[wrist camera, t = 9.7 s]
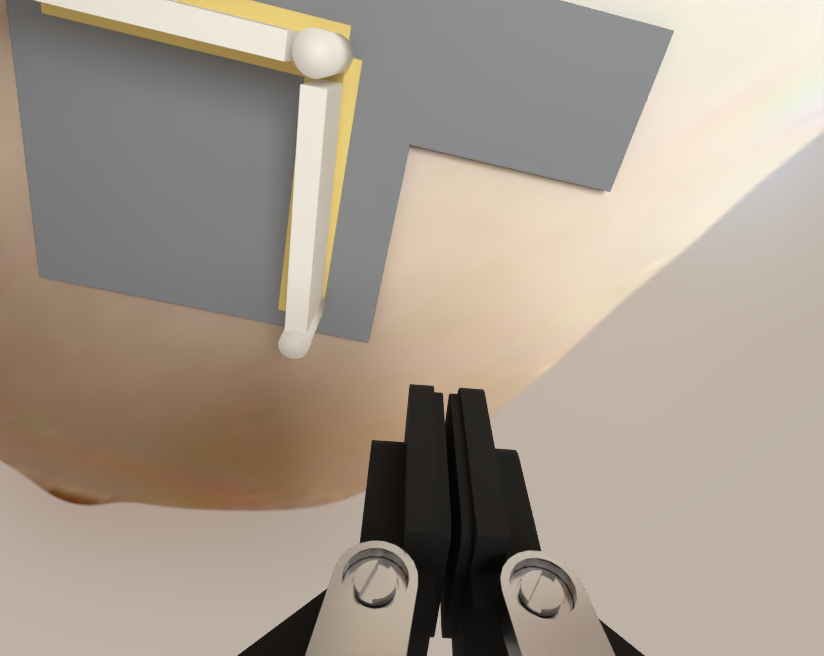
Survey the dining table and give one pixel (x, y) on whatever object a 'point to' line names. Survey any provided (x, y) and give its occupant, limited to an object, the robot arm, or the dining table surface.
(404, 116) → the fence base
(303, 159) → the fence gate
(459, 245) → the dining table surface
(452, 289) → the dining table surface
